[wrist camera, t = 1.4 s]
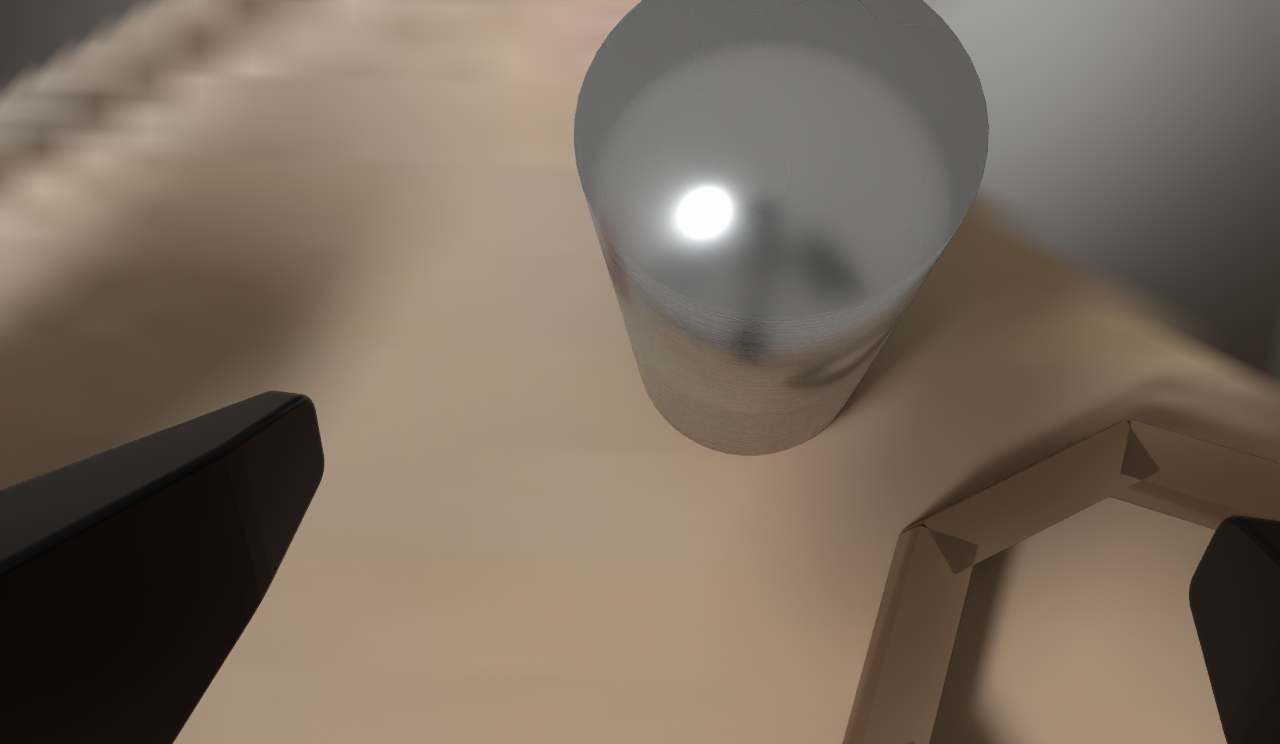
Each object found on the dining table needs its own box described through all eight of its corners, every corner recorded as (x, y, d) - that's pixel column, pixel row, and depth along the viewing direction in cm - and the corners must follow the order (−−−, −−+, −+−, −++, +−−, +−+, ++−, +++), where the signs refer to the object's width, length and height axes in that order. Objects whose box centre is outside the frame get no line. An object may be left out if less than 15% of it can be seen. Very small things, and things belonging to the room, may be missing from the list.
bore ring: (1597, 895, 16) (1715, 933, 14) (1062, 1188, 16) (1110, 1267, 14) (1217, 372, 20) (1271, 346, 18) (764, 599, 19) (771, 597, 17)
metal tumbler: (903, 393, 20) (1073, 199, 11) (698, 494, 20) (683, 388, 10) (792, 209, 22) (855, -105, 12) (601, 301, 22) (512, 53, 12)
